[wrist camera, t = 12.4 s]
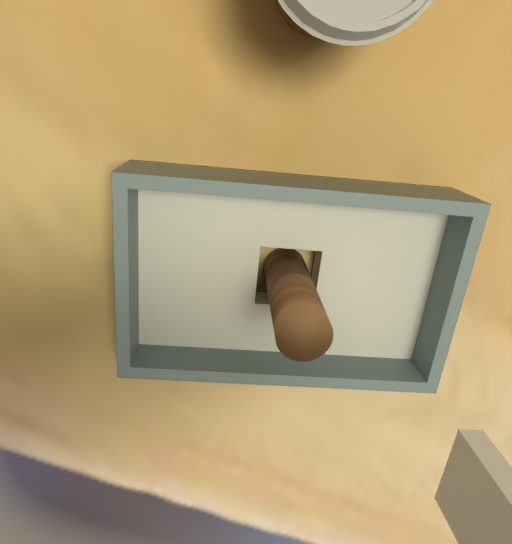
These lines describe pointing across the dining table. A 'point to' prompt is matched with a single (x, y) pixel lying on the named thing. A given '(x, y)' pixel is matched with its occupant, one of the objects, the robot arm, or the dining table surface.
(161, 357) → the tray
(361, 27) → the disposable coffee cup
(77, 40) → the dining table surface
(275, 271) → the dowel
